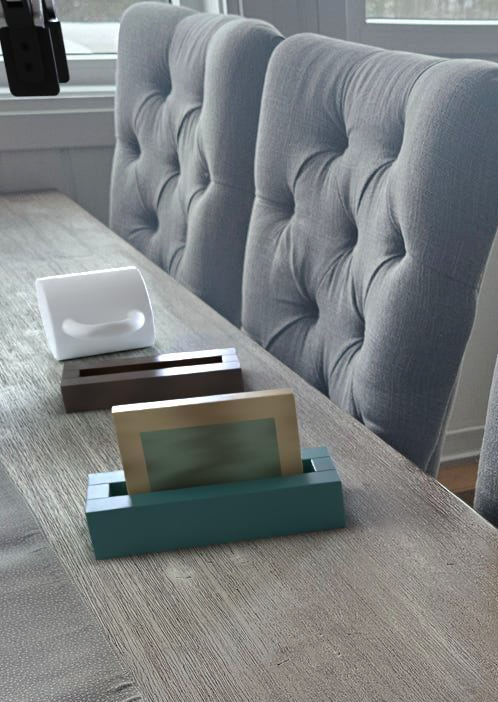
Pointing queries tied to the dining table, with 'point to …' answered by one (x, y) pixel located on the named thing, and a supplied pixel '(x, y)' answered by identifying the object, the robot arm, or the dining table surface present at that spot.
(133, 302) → the white bread box
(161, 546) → the holder
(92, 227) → the dining table surface
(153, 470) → the frame
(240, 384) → the rack
